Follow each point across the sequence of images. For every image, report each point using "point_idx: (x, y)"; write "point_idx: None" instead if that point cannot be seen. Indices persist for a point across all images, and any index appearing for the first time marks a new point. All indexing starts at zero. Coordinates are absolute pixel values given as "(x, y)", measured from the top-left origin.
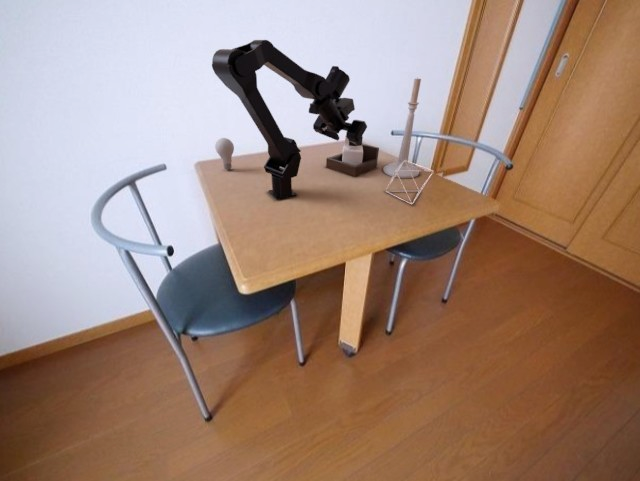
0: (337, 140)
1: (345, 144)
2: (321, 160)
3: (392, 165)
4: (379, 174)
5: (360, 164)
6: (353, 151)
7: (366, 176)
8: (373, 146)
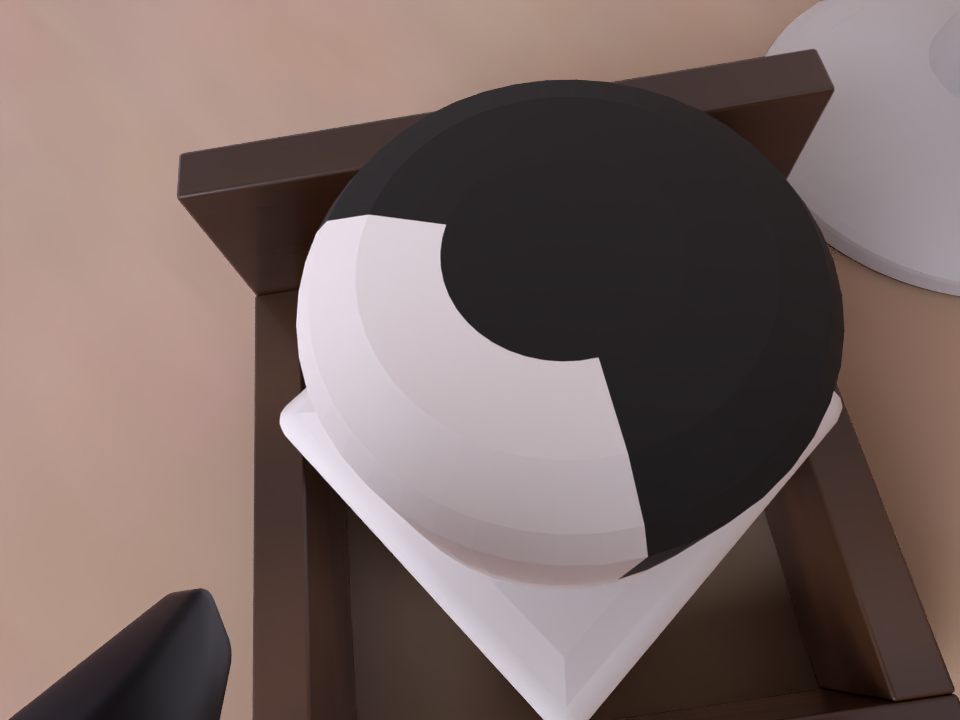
0: (222, 685)
1: (474, 567)
2: (54, 639)
3: (948, 149)
4: (933, 371)
5: (883, 573)
6: (722, 544)
7: (931, 566)
8: (708, 74)
